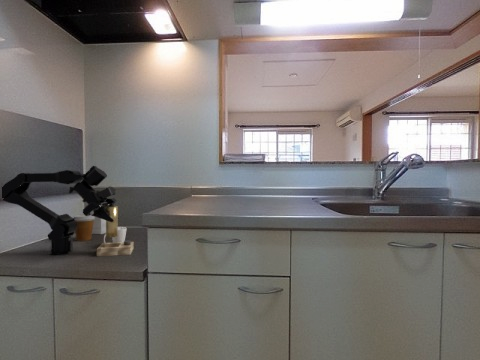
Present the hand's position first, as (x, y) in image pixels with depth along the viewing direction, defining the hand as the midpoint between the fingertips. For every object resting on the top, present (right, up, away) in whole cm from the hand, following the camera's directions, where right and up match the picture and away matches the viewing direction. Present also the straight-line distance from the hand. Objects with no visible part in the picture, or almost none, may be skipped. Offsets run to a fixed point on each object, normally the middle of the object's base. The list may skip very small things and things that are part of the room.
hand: (115, 220), depth 109 cm
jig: (0, -13, +1) cm, 14 cm away
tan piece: (-1, -7, 0) cm, 7 cm away
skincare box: (-26, -13, +36) cm, 47 cm away
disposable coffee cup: (-26, -13, +21) cm, 35 cm away
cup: (-4, -13, +9) cm, 17 cm away
